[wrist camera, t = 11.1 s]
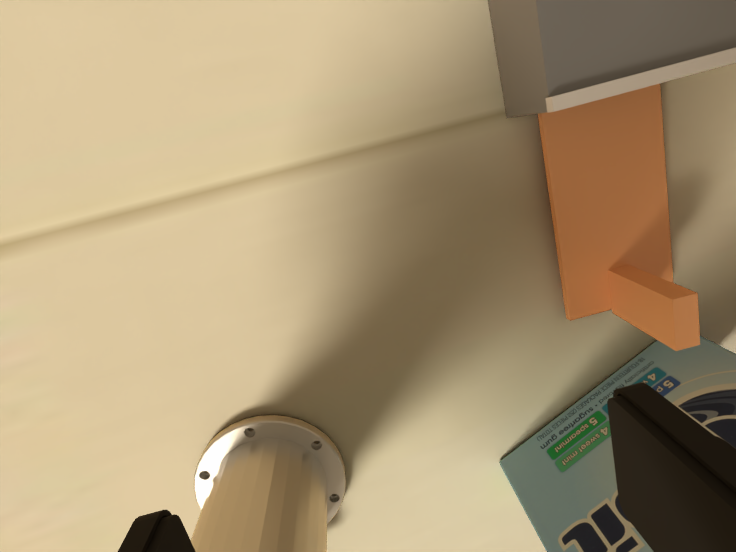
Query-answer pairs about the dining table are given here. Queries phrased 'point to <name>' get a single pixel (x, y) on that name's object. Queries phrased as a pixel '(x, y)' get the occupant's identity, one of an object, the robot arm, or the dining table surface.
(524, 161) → the dining table surface
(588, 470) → the teal product box
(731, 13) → the grey boxy piece
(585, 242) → the orange stepped block
